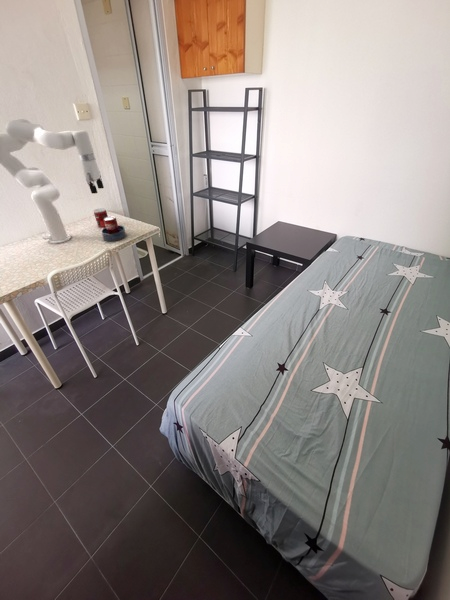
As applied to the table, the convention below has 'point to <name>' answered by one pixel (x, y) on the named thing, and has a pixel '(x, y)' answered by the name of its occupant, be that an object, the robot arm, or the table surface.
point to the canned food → (100, 216)
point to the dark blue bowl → (114, 236)
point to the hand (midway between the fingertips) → (98, 190)
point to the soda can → (111, 225)
